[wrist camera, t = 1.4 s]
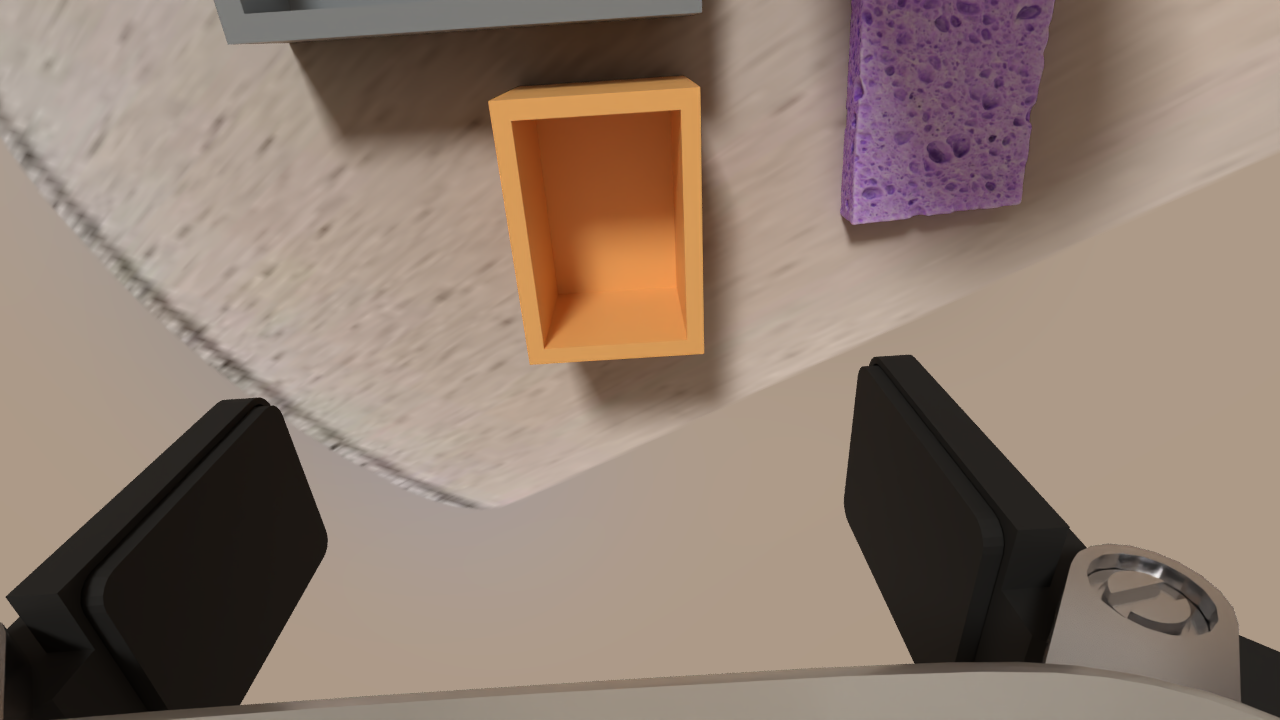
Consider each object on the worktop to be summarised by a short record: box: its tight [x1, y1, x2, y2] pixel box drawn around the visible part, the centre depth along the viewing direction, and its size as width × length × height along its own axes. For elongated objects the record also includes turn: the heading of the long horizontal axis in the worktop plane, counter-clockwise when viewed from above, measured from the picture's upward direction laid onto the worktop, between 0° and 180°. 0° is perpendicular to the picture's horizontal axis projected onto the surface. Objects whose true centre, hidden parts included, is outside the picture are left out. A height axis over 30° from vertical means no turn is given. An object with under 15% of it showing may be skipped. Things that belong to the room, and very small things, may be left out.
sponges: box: [840, 0, 1055, 225], centre depth 24 cm, size 7×13×2 cm, turn 6°
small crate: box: [488, 75, 704, 365], centre depth 24 cm, size 6×9×6 cm
